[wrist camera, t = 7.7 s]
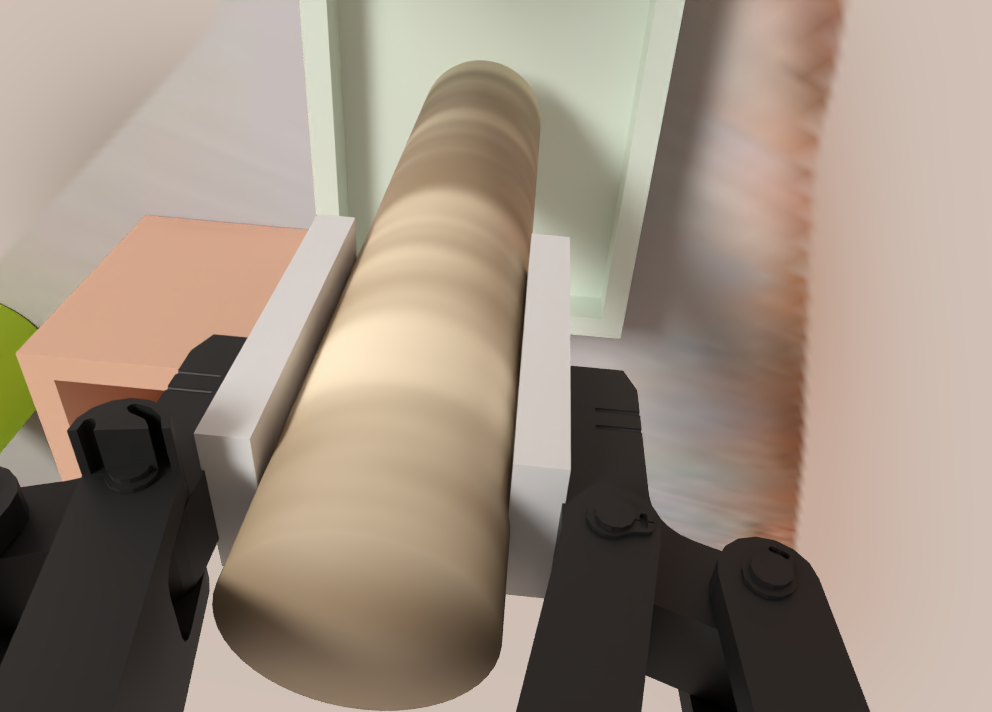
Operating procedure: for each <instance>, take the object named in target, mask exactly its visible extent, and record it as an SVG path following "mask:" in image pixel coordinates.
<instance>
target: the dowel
mask: <svg viewBox="0 0 992 712" xmlns="http://www.w3.org/2000/svg"><path fill="white" fill-rule="evenodd" d="M540 129H541V114H540V108H539V103H538V101H537V98H536V96H535V94H534V92H533V90H532V88H531V87H530V86H529V84H528V83H527V82H526V81H525V80H524V79H523V77H522V76H520V75H519V74H518V73H517V72H515V71H514V70H512V69H511V68H509V67H507V66H505V65H502V64H500V63H496V62H492V61H486V60H475V61H468V62H464V63H461V64H458V65H456V66H454V67H452V68H450V69H449V70H447V71H446V72H445V73H443V74H442V75H441V76H440V77H439V78H438V79H437V80H436V81H435V83H434V84H433V86H432V87H431V89H430V91H429V93H428V95H427V97H426V100H425V102H424V104H423V107H422V109H421V111H420V113H419V116H418V118H417V120H416V123H415V125H414V127H413V130H412V132H411V134H410V137H409V139H408V141H407V144H406V146H405V148H404V150H403V153H402V155H401V157H400V160H399V162H398V164H397V167H396V169H395V171H394V174H393V176H392V178H391V181H390V183H389V185H388V188H387V190H386V192H385V194H384V197H383V199H382V201H381V204H380V206H379V208H378V211H377V213H376V215H375V218H374V220H373V222H372V225H371V227H370V229H369V231H368V234H367V236H366V238H365V241H364V243H363V245H362V248H361V250H360V252H359V255H358V257H357V259H356V262H355V264H354V266H353V268H352V271H351V273H350V275H349V278H348V280H347V282H346V285H345V287H344V289H343V292H342V294H341V296H340V299H339V301H338V303H337V305H336V308H335V310H334V312H333V315H332V317H331V319H330V322H329V324H328V326H327V329H326V331H325V333H324V336H323V338H322V340H321V342H320V345H319V347H318V349H317V352H316V354H315V356H314V359H313V361H312V363H311V366H310V368H309V370H308V373H307V375H306V377H305V380H304V382H303V384H302V386H301V389H300V391H299V393H298V396H297V398H296V400H295V403H294V405H293V407H292V410H291V412H290V414H289V417H288V419H287V421H286V423H285V426H284V428H283V430H282V433H281V435H280V437H279V440H278V442H277V444H276V447H275V449H274V451H273V454H272V456H271V458H270V460H269V463H268V465H267V467H266V470H265V472H264V474H263V477H262V479H261V481H260V484H259V486H258V488H257V491H256V493H255V495H254V497H253V500H252V502H251V504H250V507H249V509H248V511H247V514H246V516H245V518H244V521H243V523H242V525H241V528H240V530H239V532H238V535H237V537H236V539H235V541H234V544H233V546H232V548H231V551H230V553H229V555H228V558H227V560H226V562H225V565H224V567H223V569H222V572H221V574H220V576H219V578H218V581H217V583H216V587H215V590H214V593H213V603H212V605H213V613H214V618H215V621H216V624H217V627H218V629H219V631H220V633H221V635H222V636H223V638H224V640H225V641H226V642H227V644H228V645H229V646H230V648H231V649H232V650H233V651H234V652H235V653H236V654H237V655H238V656H239V657H240V659H242V660H243V661H244V662H245V663H246V664H248V665H249V666H250V667H251V668H252V669H253V670H255V671H256V672H258V673H260V674H261V675H262V676H264V677H265V678H267V679H269V680H271V681H272V682H274V683H276V684H278V685H280V686H282V687H284V688H286V689H288V690H291V691H293V692H295V693H298V694H300V695H303V696H306V697H309V698H311V699H314V700H318V701H321V702H325V703H329V704H333V705H338V706H343V707H349V708H356V709H364V710H380V711H383V710H384V711H386V710H387V711H388V710H389V711H393V710H395V711H396V710H408V709H416V708H422V707H428V706H432V705H436V704H440V703H443V702H446V701H449V700H451V699H454V698H456V697H458V696H460V695H462V694H464V693H466V692H468V691H469V690H471V689H473V688H474V687H475V686H477V685H478V684H480V683H481V682H482V681H483V680H484V679H485V678H486V677H487V676H488V675H489V673H490V672H491V671H492V669H493V668H494V666H495V664H496V662H497V660H498V658H499V655H500V651H501V647H502V636H503V621H504V609H505V596H506V582H507V569H508V556H509V542H510V522H509V516H508V513H509V501H510V488H511V476H512V463H513V451H514V438H515V426H516V413H517V401H518V388H519V376H520V363H521V351H522V338H523V326H524V313H525V301H526V288H527V276H528V266H529V256H530V246H531V236H532V234H533V222H534V209H535V196H536V182H537V169H538V156H539V142H540Z"/></svg>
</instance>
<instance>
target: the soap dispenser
mask: <svg viewBox="0 0 992 712" xmlns="http://www.w3.org/2000/svg"><path fill="white" fill-rule="evenodd" d="M37 330H38V329H37V328H36V327H35V326H33V325H32V324H31V323H30V322H29V321H28V320H26V319H25V318H24V317H22V316H21V315H19V314H18V313H16V312H15V311H13V310H11V309H9V308H7V307H5V306H3V305H1V304H0V453H1V452H2V450H3V449H4V448H5V447H6V446H7V444H8V443H9V442H10V441H11V440H12V438H13V437H14V436H15V435H16V433H17V432H18V431H19V430H20V429H21V427H22V426H23V425H24V424H25V423H26V421H27V420H28V419H29V418H30V417H31V415H32V414H33V413H34V412H35V411H36V408H35V405H34V402H33V399H32V397H31V394H30V391H29V389H28V386H27V383H26V380H25V378H24V375H23V372H22V369H21V367H20V364H19V361H18V358H17V356H16V352H17V351H18V350H19V349H20V348H21V347H22V346H23V345H24V344H25V343H26V341H27V340H28V339H29V338H30V337H31V336H32V335H33V334H34V333H35V332H36V331H37Z"/></svg>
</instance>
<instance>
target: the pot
mask: <svg viewBox="0 0 992 712" xmlns="http://www.w3.org/2000/svg"><path fill="white" fill-rule="evenodd" d="M307 232H308V230H303V229H292V228H281V227H270V226H259V225H248V224H237V223H226V222H215V221H204V220H193V219H182V218H171V217H160V216H149V215H145V216H144V218H143V219H142V220H141V221H140V222H139V223H138V224H137V225H136V226H135V227H134V228H133V229H132V230H131V231H130V232H129V233H128V234H127V236H126V237H125V238H124V239H123V240H122V241H121V242H120V243H119V244H118V245H117V246H116V247H115V248H114V249H113V250H112V251H111V252H110V254H109V255H108V256H107V257H106V258H105V259H104V260H103V261H102V262H101V263H100V264H99V265H98V266H97V267H96V268H95V269H94V270H93V272H92V273H91V274H90V275H89V276H88V277H87V278H86V279H85V280H84V281H83V282H82V283H81V284H80V285H79V286H78V287H77V288H76V290H75V291H74V292H73V293H72V294H71V295H70V296H69V297H68V298H67V299H66V300H65V301H64V302H63V303H62V304H61V305H60V307H59V308H58V309H57V310H56V311H55V312H54V313H53V314H52V315H51V316H50V317H49V318H48V319H47V320H46V321H45V322H44V323H43V325H42V326H41V327H40V328H39V329H38V330H37V331H36V332H35V333H34V334H33V335H32V336H31V337H30V338H29V339H28V340H27V341H26V343H25V344H24V345H23V346H22V347H21V348H20V349H19V350H18V351H17V352H16V356H17V358H18V361H19V364H20V367H21V369H22V372H23V375H24V378H25V380H26V383H27V386H28V389H29V391H30V394H31V397H32V399H33V402H34V405H35V408H36V410H37V413H38V416H39V419H40V421H41V424H42V427H43V429H44V432H45V435H46V438H47V440H48V443H49V446H50V449H51V451H52V454H53V457H54V459H55V462H56V465H57V468H58V470H59V473H60V476H61V479H62V481H68V480H72V479H77V478H81V476H82V474H81V471H80V468H79V465H78V463H77V460H76V457H75V454H74V451H73V448H72V445H71V442H70V439H69V436H68V433H67V430H68V428H69V427H70V426H71V425H72V423H73V422H74V421H75V419H76V418H77V417H79V416H81V415H82V414H84V413H85V412H87V411H88V410H90V409H91V408H93V407H95V406H98V405H101V404H104V403H106V402H109V401H112V400H120V399H127V398H138V399H147V400H151V401H154V402H156V403H157V401H158V400H159V398H160V397H161V395H162V394H163V392H164V391H165V390H167V389H168V385H169V383H170V381H171V380H172V378H173V377H174V375H175V374H178V369H179V368H180V366H181V365H182V363H183V362H184V360H185V358H186V357H187V355H188V354H189V352H190V351H191V350H192V349H193V348H195V347H196V346H198V345H199V344H201V343H202V342H203V341H205V340H206V339H208V338H209V337H210V336H212V335H213V334H217V335H228V336H238V337H248V336H249V334H250V333H251V331H252V329H253V327H254V326H255V324H256V322H257V320H258V319H259V317H260V315H261V313H262V311H263V310H264V308H265V306H266V304H267V303H268V301H269V299H270V297H271V296H272V294H273V292H274V290H275V288H276V287H277V285H278V283H279V281H280V280H281V278H282V276H283V274H284V273H285V271H286V269H287V267H288V265H289V264H290V262H291V260H292V258H293V257H294V255H295V253H296V251H297V250H298V248H299V246H300V244H301V242H302V241H303V239H304V237H305V235H306V234H307ZM216 545H218V544H216Z"/></svg>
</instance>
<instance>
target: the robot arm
mask: <svg viewBox="0 0 992 712" xmlns="http://www.w3.org/2000/svg"><path fill="white" fill-rule="evenodd" d="M356 259H357V247H356V225H355V218H354V217H343V216H332V215H321V214H317V216H316V218H315V219H314V221H313V223H312V225H311V227H310V228H309V230H308V232H307V234H306V235H305V237H304V239H303V241H302V242H301V244H300V246H299V248H298V250H297V251H296V253H295V255H294V257H293V258H292V260H291V262H290V264H289V265H288V267H287V269H286V271H285V273H284V274H283V276H282V278H281V280H280V281H279V283H278V285H277V287H276V288H275V290H274V292H273V294H272V296H271V297H270V299H269V301H268V303H267V304H266V306H265V308H264V310H263V311H262V313H261V315H260V317H259V319H258V320H257V322H256V324H255V326H254V327H253V329H252V331H251V333H250V334H249V336H248V337H238V336H228V335H217V334H213V335H212V336H210V337H209V338H208V339H206V340H205V341H203V342H202V343H201V344H199V345H198V346H196V347H195V348H193V349H192V350H191V351H190V352H189V354H188V355H187V357H186V358H185V360H184V362H183V363H182V365H181V366H180V368H179V369H178V374H175V375H174V377H173V378H172V380H171V381H170V383H169V385H168V389H167V390H165V391H164V392H163V394H162V395H161V397H160V398H159V400H158V401H157V403H156V402H154V401H151V400H147V399H138V398H127V399H120V400H112V401H109V402H106V403H104V404H101V405H98V406H95V407H93V408H91V409H90V410H88V411H87V412H85V413H84V414H82V415H81V416H79V417H77V418H76V419H75V421H74V422H73V423H72V425H71V426H70V427H69V428H68V430H67V433H68V436H69V439H70V442H71V445H72V448H73V451H74V454H75V457H76V460H77V463H78V465H79V468H80V471H81V474H82V476H81V478H77V479H72V480H68V481H63V482H55V483H48V484H41V485H34V486H27V487H20V485H19V483H18V480H17V478H16V477H15V476H14V475H13V474H12V473H11V471H10V470H9V469H6V468H3V467H0V712H183V711H184V706H185V702H186V697H187V693H188V688H189V683H190V679H191V674H192V670H193V665H194V660H195V656H196V651H197V646H198V642H199V637H200V633H201V628H202V623H203V619H204V614H205V609H206V605H207V600H208V595H209V576H208V572H207V568H206V566H207V564H208V562H209V560H210V557H211V555H212V553H213V551H214V549H215V546H216V544H218V549H219V554H220V558H221V563H222V566H224V565H225V562H226V560H227V558H228V555H229V553H230V551H231V548H232V546H233V544H234V541H235V539H236V537H237V535H238V532H239V530H240V528H241V525H242V523H243V521H244V518H245V516H246V514H247V511H248V509H249V507H250V504H251V502H252V500H253V497H254V495H255V493H256V491H257V488H258V486H259V484H260V481H261V479H262V477H263V474H264V472H265V470H266V467H267V465H268V463H269V460H270V458H271V456H272V454H273V451H274V449H275V447H276V444H277V442H278V440H279V437H280V435H281V433H282V430H283V428H284V426H285V423H286V421H287V419H288V417H289V414H290V412H291V410H292V407H293V405H294V403H295V400H296V398H297V396H298V393H299V391H300V389H301V386H302V384H303V382H304V380H305V377H306V375H307V373H308V370H309V368H310V366H311V363H312V361H313V359H314V356H315V354H316V352H317V349H318V347H319V345H320V342H321V340H322V338H323V336H324V333H325V331H326V329H327V326H328V324H329V322H330V319H331V317H332V315H333V312H334V310H335V308H336V305H337V303H338V301H339V299H340V296H341V294H342V292H343V289H344V287H345V285H346V282H347V280H348V278H349V275H350V273H351V271H352V268H353V266H354V264H355V262H356ZM508 516H509V522H510V542H509V556H508V569H507V582H506V594H509V595H518V596H528V597H538V598H544V602H543V607H542V611H541V614H540V618H539V622H538V626H537V630H536V634H535V638H534V642H533V646H532V650H531V654H530V658H529V662H528V666H527V670H526V674H525V678H524V682H523V686H522V690H521V694H520V698H519V702H518V706H517V710H516V712H641V709H642V701H643V692H644V683H645V675H646V676H649V677H651V678H653V679H656V680H658V681H660V682H663V683H665V684H668V685H670V686H672V687H675V688H677V689H678V691H679V696H680V701H681V707H682V712H870V710H869V708H868V705H867V702H866V700H865V697H864V695H863V692H862V689H861V687H860V684H859V682H858V679H857V676H856V674H855V671H854V669H853V666H852V664H851V661H850V659H849V656H848V653H847V650H846V648H845V646H844V642H843V640H842V637H841V635H840V632H839V629H838V627H837V624H836V622H835V619H834V617H833V614H832V611H831V609H830V606H829V604H828V601H827V598H826V596H825V593H824V590H823V588H822V585H821V583H820V580H819V578H818V576H817V575H816V573H815V571H814V570H813V568H812V567H811V565H810V563H809V562H807V561H806V560H805V559H804V558H803V557H802V556H801V555H799V554H798V553H797V552H796V551H795V550H793V549H791V548H789V547H787V546H785V545H783V544H781V543H779V542H777V541H775V540H770V539H765V538H760V537H750V538H740V539H737V540H735V541H734V542H732V543H730V544H728V545H726V546H725V547H724V549H723V551H720V550H717V549H714V548H712V547H709V546H706V545H703V544H701V543H698V542H695V541H693V540H690V539H688V538H686V537H684V536H682V535H680V534H678V533H677V532H675V531H674V530H673V529H671V528H670V527H668V526H667V525H666V524H665V523H664V522H663V521H662V520H661V519H660V517H659V516H658V514H657V513H656V511H655V510H654V508H653V507H652V505H651V501H650V497H649V492H648V483H647V474H646V465H645V456H644V447H643V438H642V433H641V421H640V416H639V403H638V394H637V390H636V388H635V387H634V385H633V384H632V383H631V381H630V380H629V378H628V377H627V376H626V374H625V373H624V371H620V370H610V369H599V368H589V367H578V366H570V237H564V236H553V235H542V234H532V236H531V246H530V256H529V266H528V276H527V288H526V301H525V313H524V326H523V338H522V351H521V363H520V376H519V388H518V401H517V413H516V426H515V438H514V451H513V463H512V476H511V488H510V501H509V513H508Z"/></svg>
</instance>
